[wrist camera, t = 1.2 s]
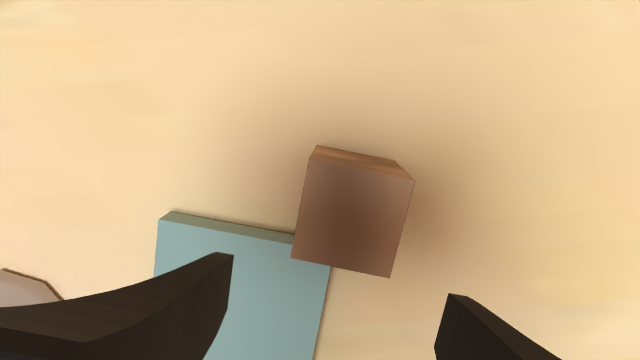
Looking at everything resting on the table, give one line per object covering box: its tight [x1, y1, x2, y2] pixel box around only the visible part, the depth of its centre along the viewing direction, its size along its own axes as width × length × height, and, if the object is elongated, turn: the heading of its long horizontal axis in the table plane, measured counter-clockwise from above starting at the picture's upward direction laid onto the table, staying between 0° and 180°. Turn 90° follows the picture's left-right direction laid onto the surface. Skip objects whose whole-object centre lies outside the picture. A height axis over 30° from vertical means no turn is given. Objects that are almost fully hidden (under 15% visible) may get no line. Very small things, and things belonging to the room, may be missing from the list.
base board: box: [154, 212, 331, 360], centre depth 22 cm, size 10×10×2 cm
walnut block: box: [290, 145, 415, 278], centre depth 18 cm, size 4×4×6 cm
